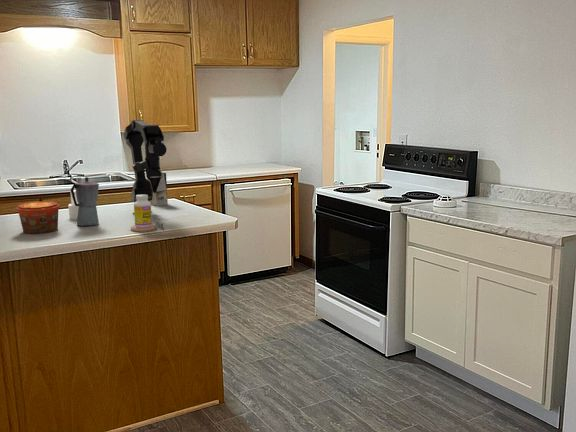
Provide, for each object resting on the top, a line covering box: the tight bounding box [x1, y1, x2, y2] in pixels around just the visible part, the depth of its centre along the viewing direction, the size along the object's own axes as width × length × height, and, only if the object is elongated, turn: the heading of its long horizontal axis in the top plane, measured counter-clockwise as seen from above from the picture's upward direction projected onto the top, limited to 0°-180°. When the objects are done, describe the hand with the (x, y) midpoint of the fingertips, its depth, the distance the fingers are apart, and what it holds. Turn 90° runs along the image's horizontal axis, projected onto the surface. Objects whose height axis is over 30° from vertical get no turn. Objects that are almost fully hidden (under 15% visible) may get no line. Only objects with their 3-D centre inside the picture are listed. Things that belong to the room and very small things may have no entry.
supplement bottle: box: [133, 194, 153, 228], centre depth 227 cm, size 7×7×13 cm
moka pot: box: [70, 177, 100, 227], centre depth 235 cm, size 10×15×20 cm, turn 161°
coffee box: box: [146, 172, 169, 207], centre depth 283 cm, size 9×6×16 cm
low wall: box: [155, 218, 164, 231], centre depth 231 cm, size 10×1×2 cm, turn 26°
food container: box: [15, 201, 61, 235], centre depth 226 cm, size 16×16×11 cm
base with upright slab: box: [68, 189, 79, 220], centre depth 252 cm, size 9×9×12 cm
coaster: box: [130, 223, 157, 233], centre depth 228 cm, size 10×10×1 cm
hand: (154, 191), depth 242 cm, fingers open, 9 cm apart
